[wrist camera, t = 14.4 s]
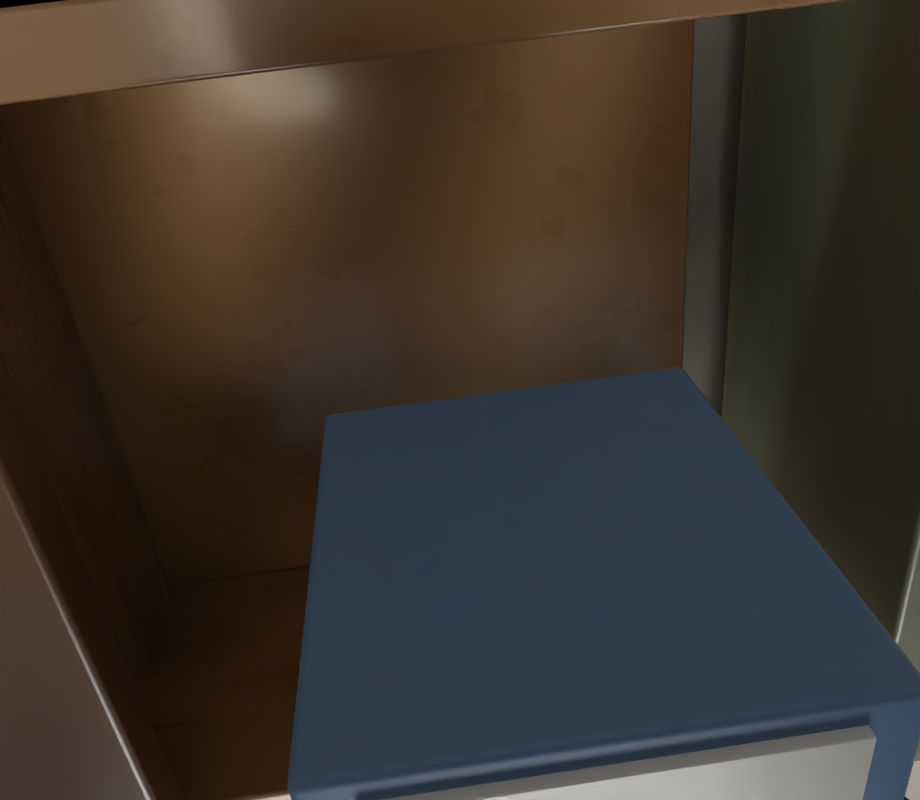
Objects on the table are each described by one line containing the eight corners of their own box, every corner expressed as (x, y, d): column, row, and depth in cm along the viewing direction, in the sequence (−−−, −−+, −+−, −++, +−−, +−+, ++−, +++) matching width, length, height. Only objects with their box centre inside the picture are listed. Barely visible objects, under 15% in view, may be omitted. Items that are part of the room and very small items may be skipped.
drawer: (1113, -169, 13) (1723, -285, 7) (955, 490, 20) (1209, 716, 14) (-74, -32, 12) (-481, -34, 7) (166, 606, 19) (71, 898, 13)
